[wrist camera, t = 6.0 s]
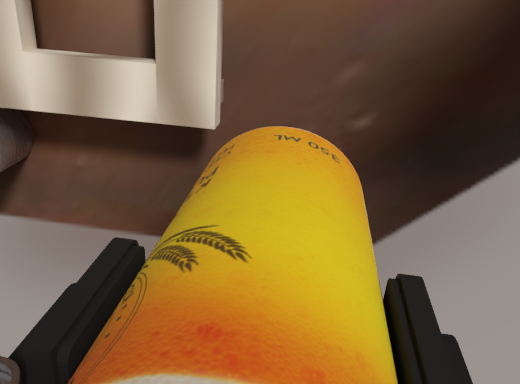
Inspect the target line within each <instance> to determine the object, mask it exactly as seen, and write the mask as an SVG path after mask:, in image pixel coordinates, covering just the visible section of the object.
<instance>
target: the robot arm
mask: <svg viewBox="0 0 520 384" xmlns="http://www.w3.org/2000/svg"><path fill="white" fill-rule="evenodd" d="M144 264H145V249H144V247H142V246H139V245H138V242H137V241H136V240H132V239H124V238H114V239H112V241H111V242H110V243H109V244H108V245H107V246H106V248H105V249H104V250H103V251H102V253H101V254H100V255H99V256H98V257H97V259H96V260H95V261H94V262H93V263H92V265H91V266H90V267H89V268H88V270H87V271H86V272H85V273H84V274H83V276H82V277H81V278H80V279H79V280H78V282H77V283H73V284H71V285H70V286H69V287H68V288H67V289H66V290H65V291H64V292H63V293H62V295H61V296H60V297H59V298H58V299H57V301H56V302H55V303H54V304H53V305H52V307H51V308H50V309H49V310H48V311H47V313H46V314H45V315H44V316H43V317H42V318H41V320H40V321H39V322H38V323H37V324H36V326H35V327H34V328H33V329H32V330H31V331H30V333H29V334H28V335H27V336H26V337H25V339H24V340H23V341H22V342H21V343H20V345H19V346H18V347H17V348H16V349H15V351H14V352H13V353H12V354H11V355H10V356H9V358H5V357H1V356H0V384H68V382H69V381H70V379H71V378H72V376H73V374H74V373H75V371H76V370H77V368H78V367H79V365H80V363H81V362H82V360H83V359H84V357H85V356H86V354H87V353H88V351H89V349H90V348H91V346H92V345H93V343H94V342H95V340H96V339H97V337H98V335H99V334H100V332H101V331H102V329H103V328H104V326H105V325H106V323H107V321H108V320H109V318H110V317H111V315H112V314H113V312H114V310H115V309H116V307H117V306H118V304H119V303H120V301H121V300H122V298H123V296H124V295H125V293H126V292H127V290H128V289H129V287H130V286H131V284H132V282H133V281H134V279H135V278H136V276H137V275H138V273H139V271H140V270H141V268H142V267H143V265H144ZM383 305H384V310H385V316H386V321H387V326H388V332H389V337H390V343H391V348H392V354H393V359H394V365H395V370H396V375H397V381H398V384H473V383H472V380H471V377H470V375H469V372H468V369H467V367H466V364H465V362H464V358H463V356H462V353H461V350H460V348H459V345H458V343H457V341H456V339H455V337H454V336H453V335H448V334H441V332H440V329H439V326H438V323H437V320H436V317H435V314H434V311H433V308H432V305H431V302H430V299H429V296H428V293H427V290H426V287H425V284H424V281H423V279H422V277H419V276H412V275H404V274H398V275H397V276H396V279H390V278H389V279H388V282H387V286H386V290H385V295H384V299H383Z"/></svg>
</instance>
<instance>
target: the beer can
mask: <svg viewBox="0 0 520 384" xmlns="http://www.w3.org/2000/svg"><path fill="white" fill-rule="evenodd" d="M68 384H398V381H397V375H396V370H395V365H394V359H393V354H392V348H391V343H390V337H389V332H388V326H387V321H386V316H385V310H384V305H383V299H382V294H381V289H380V283H379V278H378V272H377V267H376V261H375V256H374V250H373V245H372V240H371V234H370V229H369V223H368V218H367V212H366V207H365V202H364V196H363V191H362V186H361V183H360V180H359V177H358V175H357V173H356V171H355V169H354V167H353V166H352V164H351V163H350V161H349V160H348V159H347V158H346V156H345V155H344V154H343V153H342V152H341V151H340V150H339V149H338V148H336V147H335V146H334V145H333V144H331V143H330V142H328V141H327V140H325V139H324V138H322V137H320V136H318V135H316V134H313V133H311V132H309V131H305V130H302V129H298V128H292V127H282V126H275V127H264V128H259V129H255V130H252V131H248V132H246V133H244V134H241V135H239V136H237V137H236V138H234V139H232V140H231V141H229V142H228V143H227V144H225V145H224V146H223V147H222V148H221V149H220V150H219V151H218V152H217V153H216V154H215V155H214V157H213V158H212V159H211V161H210V162H209V164H208V165H207V167H206V169H205V170H204V172H203V173H202V175H201V176H200V178H199V179H198V181H197V183H196V184H195V186H194V187H193V189H192V190H191V192H190V194H189V195H188V197H187V198H186V200H185V201H184V203H183V204H182V206H181V208H180V209H179V211H178V212H177V214H176V215H175V217H174V218H173V220H172V222H171V223H170V225H169V226H168V228H167V229H166V231H165V232H164V234H163V236H162V237H161V239H160V240H159V242H158V243H157V245H156V247H155V248H154V250H153V251H152V253H151V254H150V256H149V257H148V259H147V261H146V262H145V264H144V265H143V267H142V268H141V270H140V271H139V273H138V275H137V276H136V278H135V279H134V281H133V282H132V284H131V286H130V287H129V289H128V290H127V292H126V293H125V295H124V296H123V298H122V300H121V301H120V303H119V304H118V306H117V307H116V309H115V310H114V312H113V314H112V315H111V317H110V318H109V320H108V321H107V323H106V325H105V326H104V328H103V329H102V331H101V332H100V334H99V335H98V337H97V339H96V340H95V342H94V343H93V345H92V346H91V348H90V349H89V351H88V353H87V354H86V356H85V357H84V359H83V360H82V362H81V363H80V365H79V367H78V368H77V370H76V371H75V373H74V374H73V376H72V378H71V379H70V381H69V382H68Z"/></svg>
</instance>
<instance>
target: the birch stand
mask: <svg viewBox="0 0 520 384" xmlns="http://www.w3.org/2000/svg"><path fill="white" fill-rule="evenodd" d="M154 23H155V56H156V59H148V58H137V57H125V56H114V55H103V54H92V53H81V52H70V51H59V50H48V49H37V44H36V36H35V29H34V22H33V15H32V7H31V0H0V107H1V108H11V109H21V110H30V111H40V112H50V113H60V114H70V115H79V116H89V117H99V118H109V119H119V120H128V121H138V122H148V123H158V124H168V125H177V126H187V127H197V128H207V129H215V128H216V127H217V126H218V124H219V123H220V104H221V103H222V102H223V89H224V79H221V66H222V32H223V0H154Z"/></svg>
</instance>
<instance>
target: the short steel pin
mask: <svg viewBox="0 0 520 384" xmlns="http://www.w3.org/2000/svg"><path fill="white" fill-rule="evenodd" d="M33 141H34V138H33V131H32V128H31V126H30V123H29V122H28V120H27V118H26V117H25V116H24V114H23V113H22V112H21V111H20V110H19V109H11V108H1V107H0V172H2V171H4V170H5V169H7V168H9V167H10V166H12V165H14V164H16V163H17V162H19V161H21V160H22V159H24V158H25V157H27V156H28V155H29V153H30V152H31V150H32V147H33Z"/></svg>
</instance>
